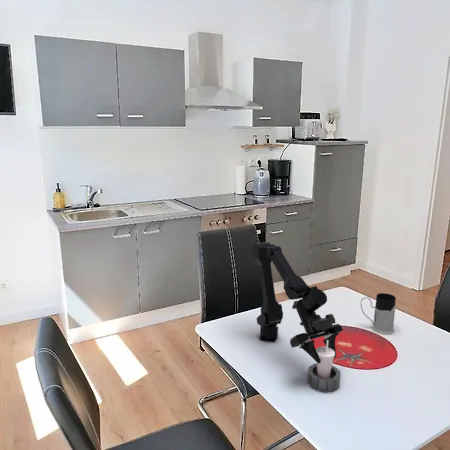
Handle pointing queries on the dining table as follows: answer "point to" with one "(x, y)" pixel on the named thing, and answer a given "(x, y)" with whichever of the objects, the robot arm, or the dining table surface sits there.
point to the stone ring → (323, 379)
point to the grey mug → (383, 313)
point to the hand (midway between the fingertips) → (327, 360)
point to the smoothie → (325, 361)
